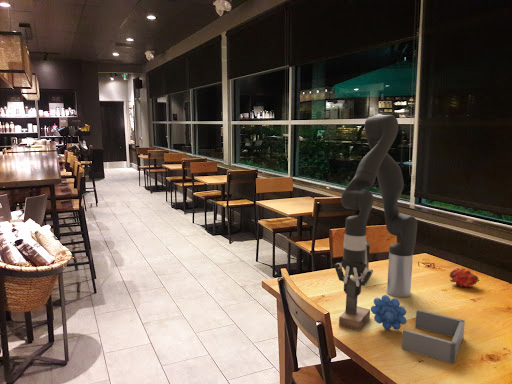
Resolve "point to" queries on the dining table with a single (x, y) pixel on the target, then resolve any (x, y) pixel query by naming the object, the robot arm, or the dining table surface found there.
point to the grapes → (389, 312)
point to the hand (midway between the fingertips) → (351, 294)
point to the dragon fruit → (463, 277)
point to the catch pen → (432, 344)
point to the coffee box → (366, 259)
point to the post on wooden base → (353, 309)
